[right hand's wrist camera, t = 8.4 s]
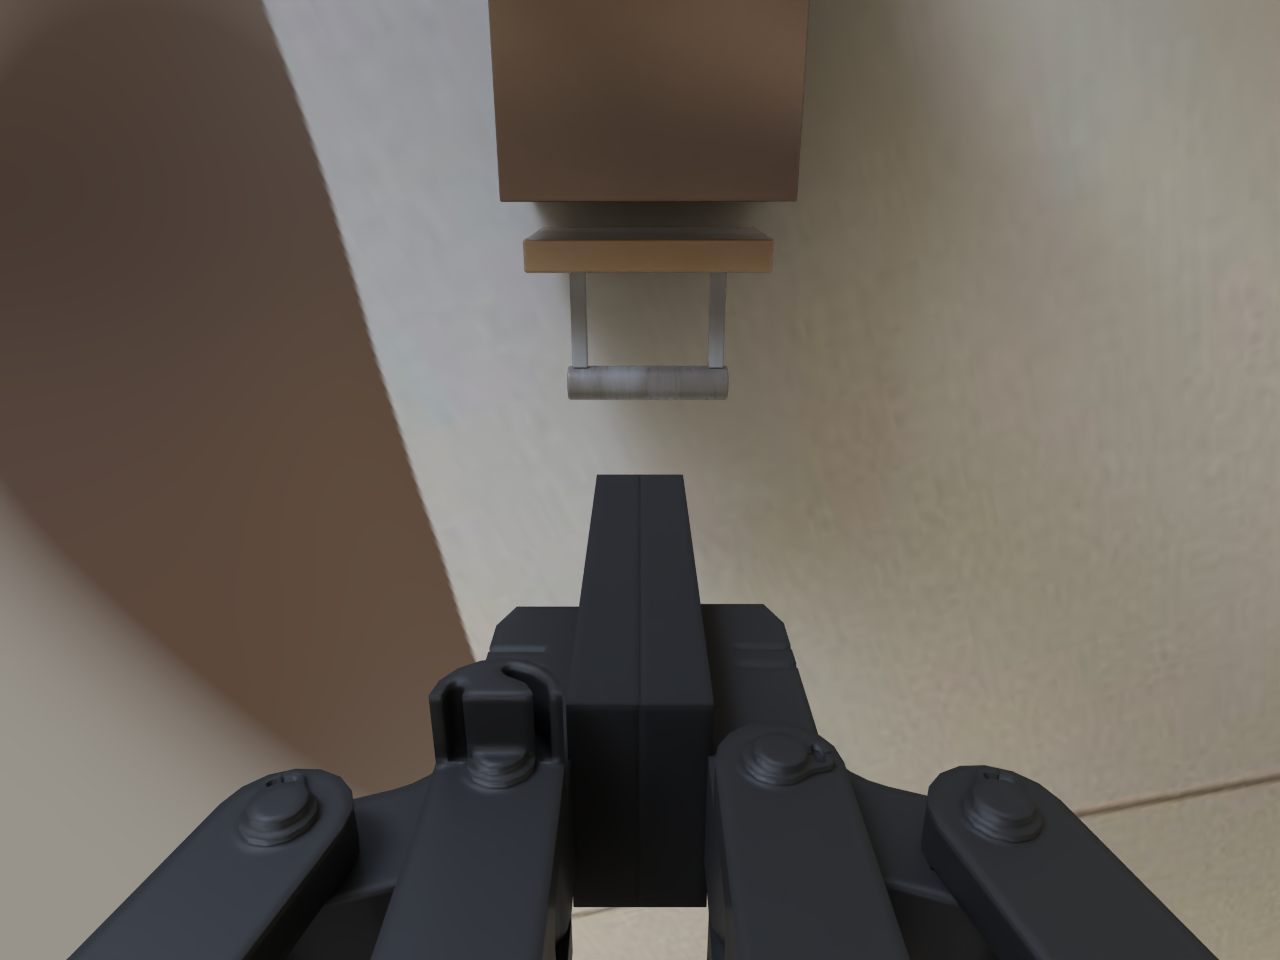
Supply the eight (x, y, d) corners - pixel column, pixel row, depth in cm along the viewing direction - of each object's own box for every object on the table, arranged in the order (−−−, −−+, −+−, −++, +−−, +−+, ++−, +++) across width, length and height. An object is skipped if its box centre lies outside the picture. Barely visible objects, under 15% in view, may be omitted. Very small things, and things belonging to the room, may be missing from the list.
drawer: (747, 373, 39) (764, 408, 33) (547, 373, 39) (531, 409, 33) (775, -236, 30) (804, -324, 25) (521, -235, 30) (494, -323, 25)
